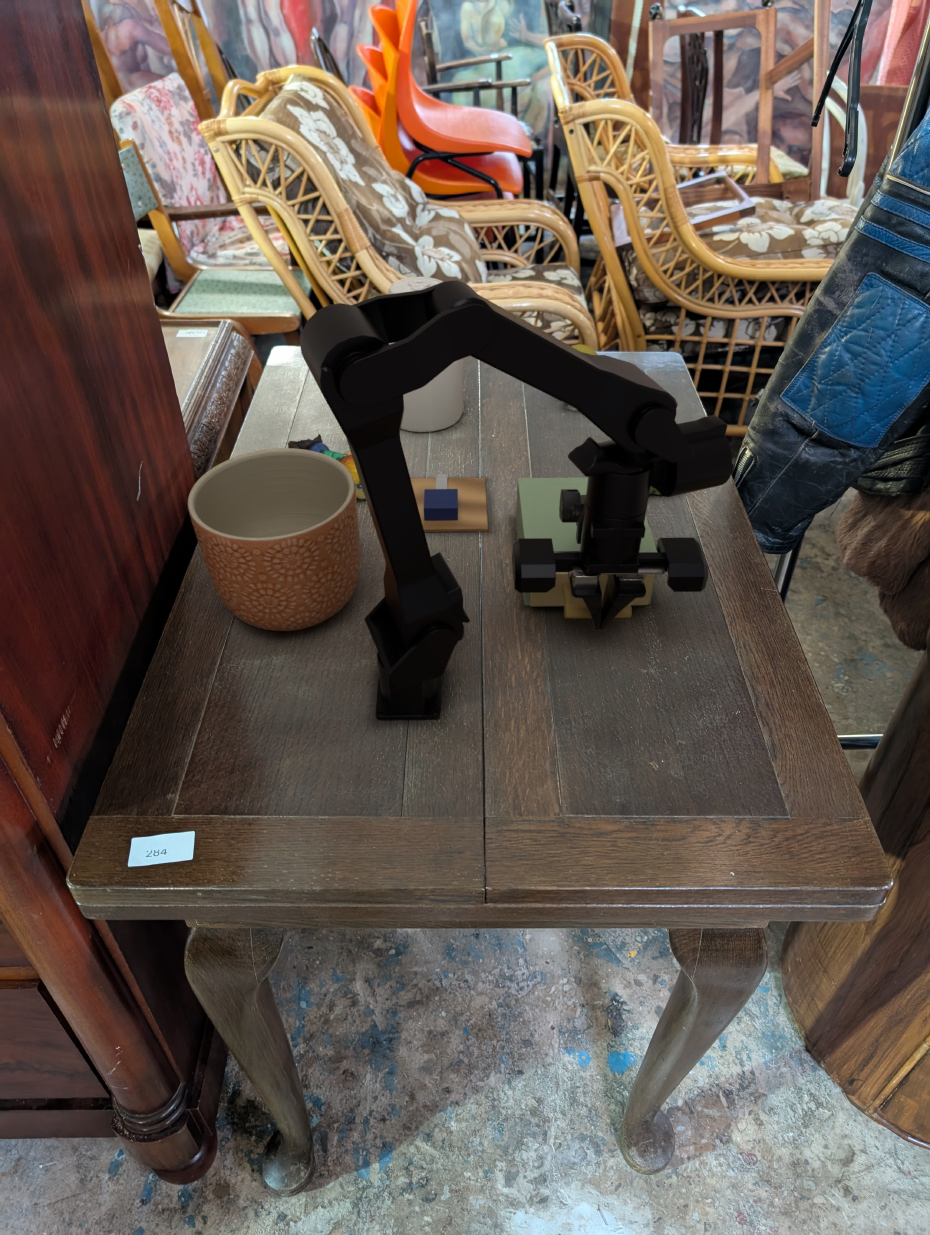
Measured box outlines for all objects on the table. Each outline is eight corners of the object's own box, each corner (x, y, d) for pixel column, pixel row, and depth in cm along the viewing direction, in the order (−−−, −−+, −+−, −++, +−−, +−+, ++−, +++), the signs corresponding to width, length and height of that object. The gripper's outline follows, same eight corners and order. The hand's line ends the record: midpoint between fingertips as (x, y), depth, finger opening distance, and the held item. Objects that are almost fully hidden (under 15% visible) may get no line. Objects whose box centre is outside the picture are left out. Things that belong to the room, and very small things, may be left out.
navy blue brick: (458, 520, 103) (457, 507, 102) (424, 520, 103) (423, 508, 102) (457, 480, 110) (457, 467, 109) (425, 480, 110) (425, 468, 109)
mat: (487, 531, 102) (487, 528, 102) (394, 532, 102) (394, 529, 102) (484, 480, 111) (484, 477, 111) (398, 481, 111) (398, 478, 110)
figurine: (380, 496, 108) (376, 455, 104) (333, 517, 104) (327, 476, 100) (333, 463, 114) (328, 423, 110) (287, 481, 111) (280, 442, 107)
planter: (397, 601, 92) (388, 490, 82) (274, 676, 83) (247, 563, 73) (310, 538, 101) (292, 431, 91) (191, 599, 92) (156, 489, 82)
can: (388, 395, 130) (379, 268, 116) (465, 396, 129) (464, 269, 116) (379, 433, 120) (368, 301, 107) (461, 435, 120) (460, 302, 106)
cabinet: (650, 604, 92) (659, 559, 87) (524, 605, 92) (527, 560, 87) (626, 519, 104) (634, 476, 99) (515, 521, 104) (517, 477, 99)
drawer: (656, 635, 87) (664, 602, 83) (533, 637, 86) (536, 604, 83) (626, 524, 102) (631, 493, 98) (521, 525, 101) (523, 494, 98)
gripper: (696, 459, 80) (670, 580, 90) (512, 460, 80) (507, 581, 90) (724, 520, 72) (692, 647, 82) (518, 522, 72) (512, 648, 82)
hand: (598, 627), depth 84 cm, fingers closed, pressing on drawer
